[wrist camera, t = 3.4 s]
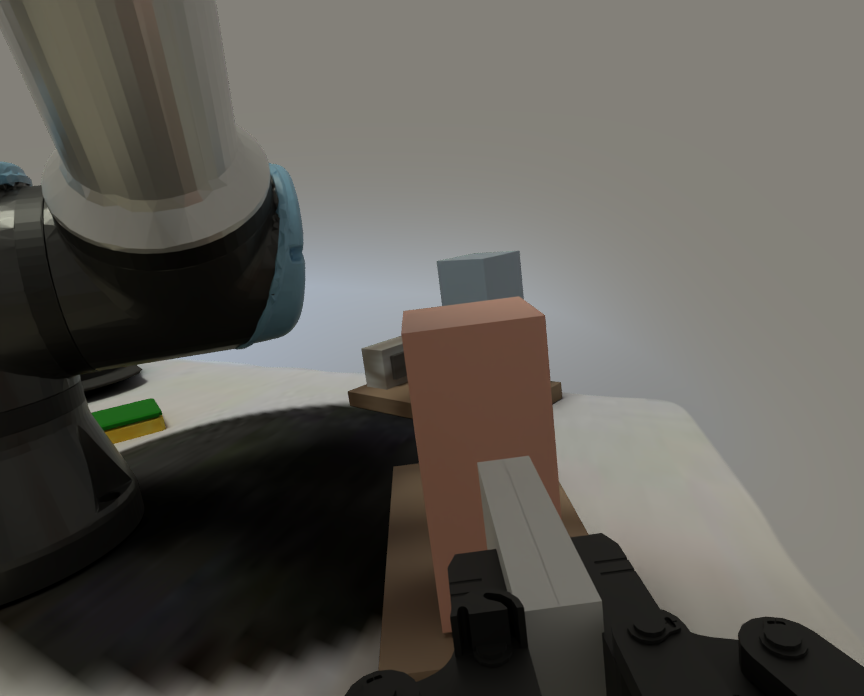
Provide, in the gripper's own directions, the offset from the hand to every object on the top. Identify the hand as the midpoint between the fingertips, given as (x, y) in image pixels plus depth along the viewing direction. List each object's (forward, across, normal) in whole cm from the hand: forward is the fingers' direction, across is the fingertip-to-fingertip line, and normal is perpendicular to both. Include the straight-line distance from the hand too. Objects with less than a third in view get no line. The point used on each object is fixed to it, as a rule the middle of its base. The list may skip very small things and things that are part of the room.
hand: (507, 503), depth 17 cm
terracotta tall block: (+7, 0, -8) cm, 10 cm away
